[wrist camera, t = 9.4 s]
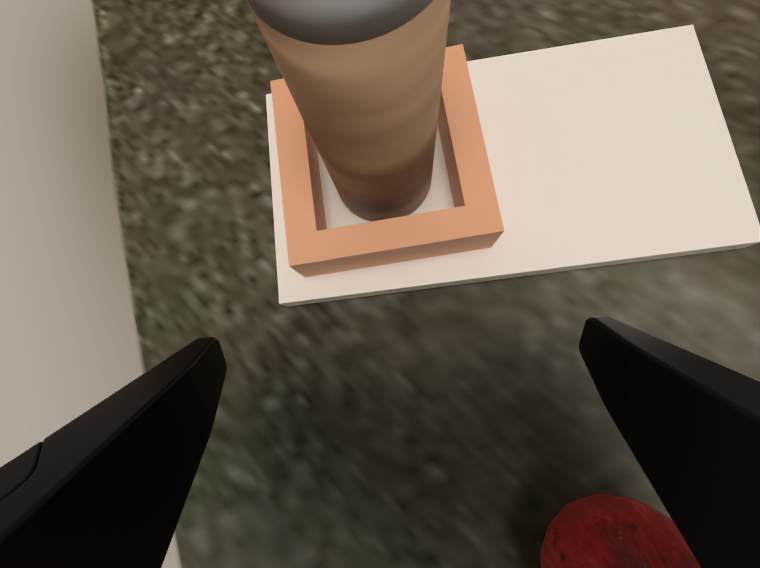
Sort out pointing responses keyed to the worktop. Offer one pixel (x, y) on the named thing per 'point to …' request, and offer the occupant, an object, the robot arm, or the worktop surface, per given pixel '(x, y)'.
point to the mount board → (570, 169)
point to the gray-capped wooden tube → (365, 91)
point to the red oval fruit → (613, 536)
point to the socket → (401, 234)
